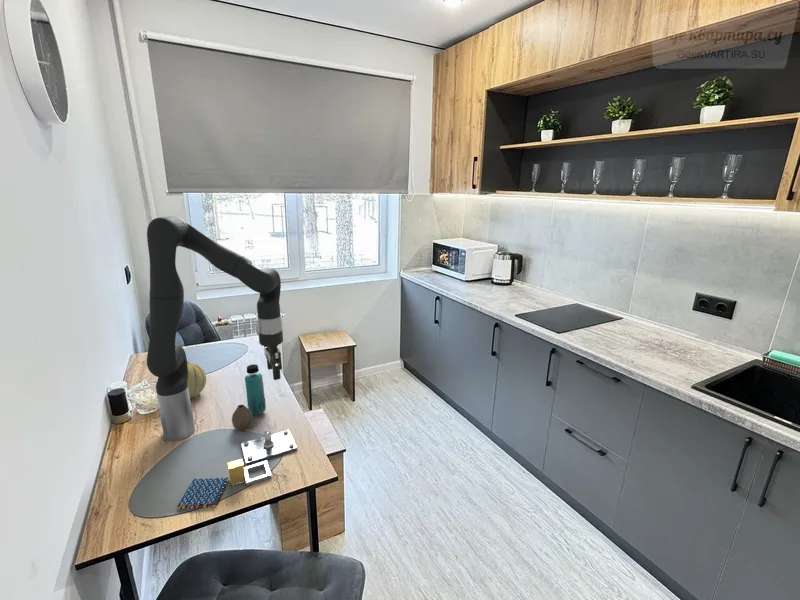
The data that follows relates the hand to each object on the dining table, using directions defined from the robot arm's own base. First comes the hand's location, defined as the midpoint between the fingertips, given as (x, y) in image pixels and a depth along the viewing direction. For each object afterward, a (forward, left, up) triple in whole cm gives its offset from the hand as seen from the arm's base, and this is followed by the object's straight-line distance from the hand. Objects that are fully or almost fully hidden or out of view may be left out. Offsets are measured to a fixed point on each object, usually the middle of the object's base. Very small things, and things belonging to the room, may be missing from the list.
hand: (274, 373), depth 130 cm
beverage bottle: (-5, +15, -23) cm, 28 cm away
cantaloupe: (-28, +41, -23) cm, 55 cm away
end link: (-12, -19, -23) cm, 32 cm away
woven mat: (-25, -20, -23) cm, 39 cm away
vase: (-11, +8, -23) cm, 27 cm away
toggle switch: (-5, -8, -23) cm, 24 cm away
